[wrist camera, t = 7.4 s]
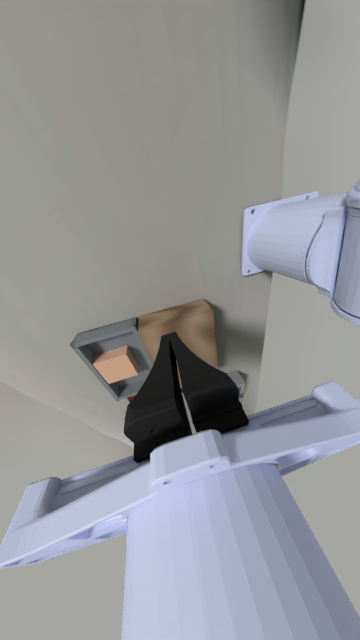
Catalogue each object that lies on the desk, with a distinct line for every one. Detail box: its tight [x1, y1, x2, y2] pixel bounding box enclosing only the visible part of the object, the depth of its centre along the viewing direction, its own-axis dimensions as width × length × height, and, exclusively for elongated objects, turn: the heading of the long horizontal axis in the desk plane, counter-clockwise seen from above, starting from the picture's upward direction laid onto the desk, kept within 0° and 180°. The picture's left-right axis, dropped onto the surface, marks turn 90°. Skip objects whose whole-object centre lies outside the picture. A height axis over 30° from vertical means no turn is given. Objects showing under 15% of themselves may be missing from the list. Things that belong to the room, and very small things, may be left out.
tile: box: [92, 346, 139, 384], centre depth 24 cm, size 5×5×2 cm
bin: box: [70, 318, 153, 401], centre depth 24 cm, size 9×14×2 cm, turn 12°
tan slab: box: [138, 299, 218, 388], centre depth 24 cm, size 10×14×4 cm
